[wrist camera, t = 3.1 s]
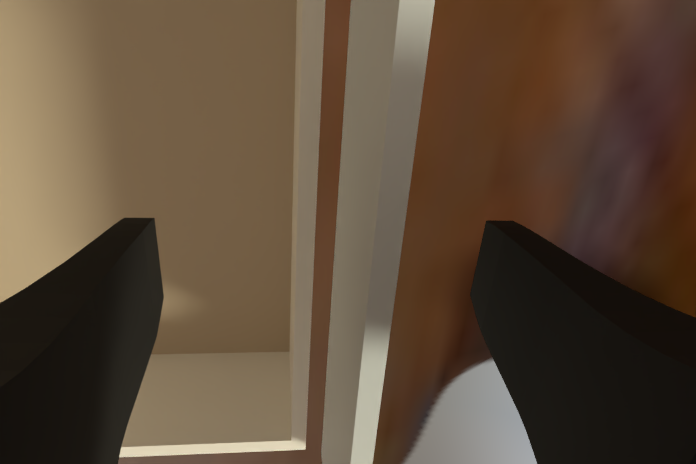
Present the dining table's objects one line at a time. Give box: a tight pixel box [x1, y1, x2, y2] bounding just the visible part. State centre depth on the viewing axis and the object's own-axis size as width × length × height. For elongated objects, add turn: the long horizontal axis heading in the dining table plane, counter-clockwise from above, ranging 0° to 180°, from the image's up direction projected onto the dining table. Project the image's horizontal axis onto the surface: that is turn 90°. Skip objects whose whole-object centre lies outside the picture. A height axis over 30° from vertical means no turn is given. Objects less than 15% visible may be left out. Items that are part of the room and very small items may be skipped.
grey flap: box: [321, 0, 435, 464], centre depth 13 cm, size 20×5×1 cm
